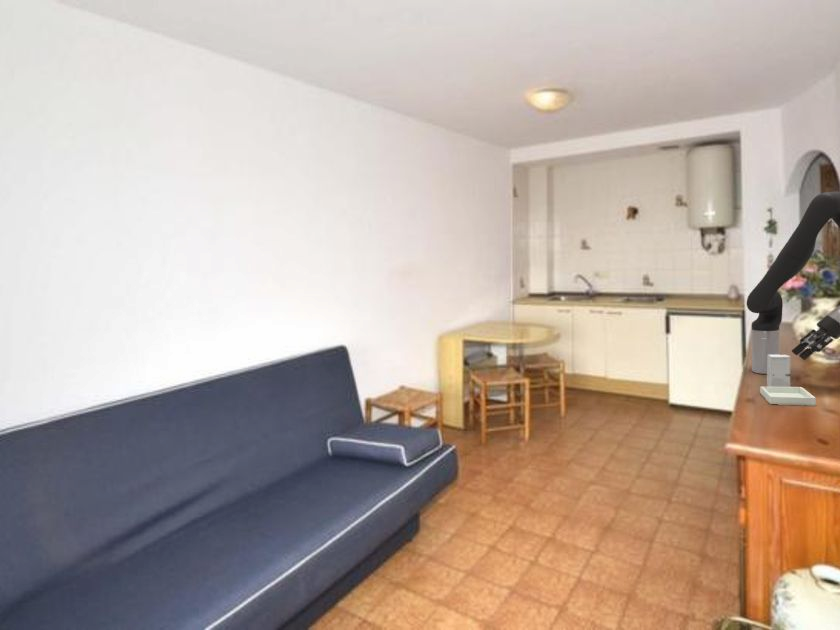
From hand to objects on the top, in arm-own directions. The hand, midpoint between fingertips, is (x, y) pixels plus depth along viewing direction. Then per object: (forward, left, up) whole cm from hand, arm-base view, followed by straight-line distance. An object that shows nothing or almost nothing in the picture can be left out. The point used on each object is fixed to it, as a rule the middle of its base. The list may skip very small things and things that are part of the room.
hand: (797, 355), depth 180 cm
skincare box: (0, -6, -12) cm, 13 cm away
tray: (+14, -7, -12) cm, 20 cm away
